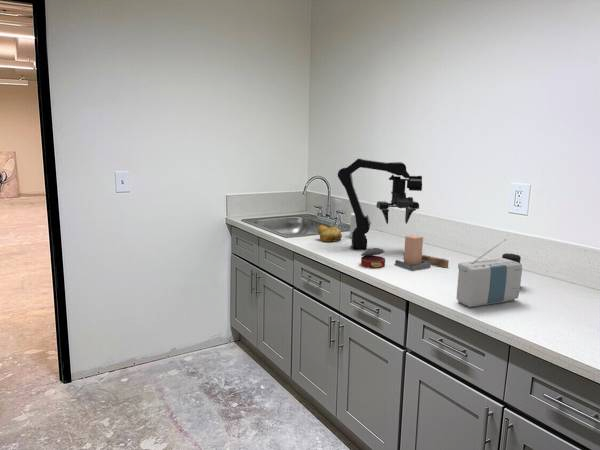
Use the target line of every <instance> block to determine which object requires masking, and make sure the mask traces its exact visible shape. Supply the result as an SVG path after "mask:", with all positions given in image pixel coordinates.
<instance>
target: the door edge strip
mask: <svg viewBox="0 0 600 450" xmlns="http://www.w3.org/2000/svg"><path fill="white" fill-rule="evenodd" d="M402 258H403V260H404V254H403V255H402ZM422 260H424V261H427V262H430V263H431V266H434V267H435V266H436V267H440V268H444V269H447V268H449V262H450V260H449V259H445V258H440V257H435V256H431V255H426V254H422Z"/></svg>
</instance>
